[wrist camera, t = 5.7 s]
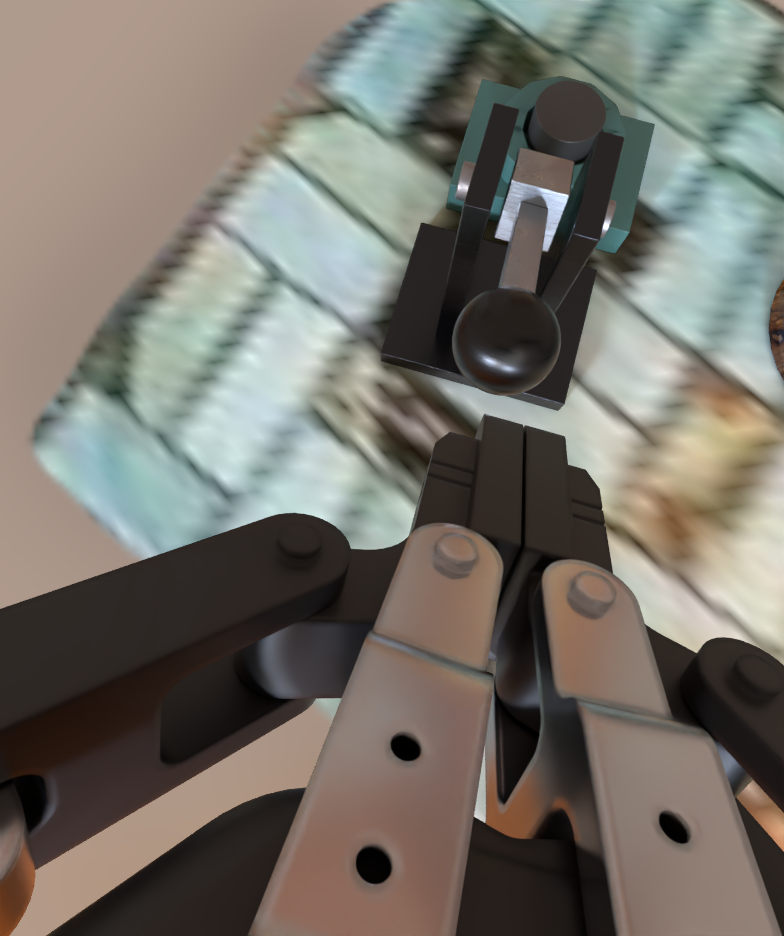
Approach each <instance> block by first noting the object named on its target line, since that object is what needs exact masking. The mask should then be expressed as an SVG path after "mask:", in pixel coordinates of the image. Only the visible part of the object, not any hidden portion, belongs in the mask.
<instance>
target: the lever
mask: <svg viewBox="0 0 784 936" xmlns="http://www.w3.org/2000/svg"><path fill="white" fill-rule="evenodd" d="M573 170H574V162H573V161H570V160H566V159H562V158H559V157H555V156H551V155H547V154H544V153H540V152H536V151H532V150H529V149H525V148H519V151H518V155H517V158H516V161H515V165H514V168H513V171H512V175H511V178H510V181H509V185H508V188H507V191H506V195H505V198H504V201H503V205H502V209H501V212H500V216H499V220H498V224H497V227H496V231H495V235H494V238H496V239H500V240H504V241H507V242H509V243H508V248H507V252H506V256H505V261H504V265H503V269H502V274H501V278H500V282H499V286H498V288H493V289H490V290H488V291H485V292H483V293H481V294H480V295H478V296H477V297H475V298H474V299H473V300H472V301H470V302H469V303H468V304H467V305H466V307H465V308H464V309H463V310H462V312H461V313H460V315H459V317H458V319H457V321H456V324H455V327H454V331H453V336H452V349H453V355H454V359H455V362H456V364H457V366H458V368H459V370H460V371H461V373H462V374H463V376H464V377H465V378H466V379H467V380H468V381H469V382H470V383H471V384H472V385H474V386H475V387H477V388H478V389H480V390H482V391H484V392H487V393H490V394H494V395H503V396H506V395H515V394H519V393H523V392H525V391H528V390H530V389H531V388H533V387H535V386H536V385H538V384H539V383H540V382H541V381H542V380H544V379H545V378H546V376H547V375H548V374H549V373H550V371H551V370H552V368H553V367H554V365H555V363H556V361H557V358H558V355H559V351H560V346H561V333H560V327H559V324H558V321H557V318H556V316H555V314H554V312H553V310H552V309H551V307H550V306H549V305H548V304H547V303H546V302H545V301H544V300H543V299H542V298H541V297H539V296H538V295H536V294H535V290H536V284H537V278H538V272H539V266H540V260H541V254H542V251H544V252H549V250H550V247H551V245H552V242H553V239H554V237H555V234H556V231H557V229H558V226H559V224H560V221H561V218H562V216H563V213H564V211H565V208H566V205H567V203H568V200H569V198H570V193H571V185H572V177H573Z"/></svg>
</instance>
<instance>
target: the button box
mask: <svg viewBox="0 0 784 936" xmlns="http://www.w3.org/2000/svg"><path fill="white" fill-rule="evenodd" d="M561 81H575V82H580V83H583V84H585V85H587V86H589V87H591V88H592V89H593V90H595V91H596V92H597V93H598V94H599V96H600V97H601V99H602V100H603V102H604V105H605V109H606V120H605V123H604V126H603V128H602V130H601V131H603V132H607V133H611V134H614V135H618V136H622V137H624V144H623V148H622V152H621V156H620V160H619V164H618V168H617V173H616V177H615V181H614V185H613V189H612V193H611V197H610V200H614V201H616V209H615V213H614V216H613V219H612V222H611V225H610V227H609V229H608V231H607V233H606V235H605V236H604V237H603V238H600V241H599V242H598V244H597V246H596V247H595V248H596V249H599V250H603V251H607V252H610V253H616V251H617V250H618V248H619V247H620V245H621V244H622V242H623V241H624V240H625V238H626V237H627V235H628V234H629V232H630V228H631V223H632V219H633V215H634V211H635V206H636V202H637V198H638V194H639V189H640V185H641V181H642V177H643V172H644V168H645V164H646V160H647V155H648V151H649V147H650V143H651V138H652V134H653V130H654V124H652V123H648V122H644V121H640V120H637V119H633V118H629V117H625V116H621V115H620V113H619V111H618V108H617V106H616V104H615V103H614V102H612V101H611V100H610V99H609V98H608V97H607V96H605V95H604V94H603V93H602V92H601V91H600V90H599V89H597V88H596V87H595V86H594V85H592V84H590V83H586V82H582V81H579V80H575V79H571V78H567V77H563V76H558V77H553V78H548V79H543V80H538V81H533V82H530V83H528V84H527V85H526V86H525V87H524V88H522V89H519V88H515V87H511V86H507V85H503V84H499V83H496V82H492V81H488V80H484V79H482V81H481V84H480V88H479V91H478V94H477V98H476V101H475V104H474V107H473V111H472V114H471V117H470V121H469V124H468V127H467V131H466V134H465V137H464V140H463V144H462V147H461V150H460V154H459V157H458V160H457V163H456V167H455V170H454V173H453V177H452V180H451V183H450V188H449V194H448V200H447V206H446V208H448V209H451V210H455V211H459V212H462V210H463V205H464V201H461V200H457V199H455V193H456V189H457V184H458V181H459V177H460V173H461V170H462V166H463V164H464V162H465V161H468V162H472V163H476V161H477V157H478V154H479V151H480V147H481V144H482V140H483V137H484V134H485V130H486V127H487V124H488V120H489V117H490V113H491V110H492V107H493V104H494V103H498V104H502V105H506V106H509V107H513V108H517V109H519V114H518V118H517V121H516V125H515V128H514V132H513V135H512V139H511V142H510V146H509V149H508V153H507V156H506V160H505V163H504V167H503V170H502V174H501V177H500V181H499V184H498V188H497V191H496V195H495V198H494V202H493V205H492V209H491V212H490V216H489V219H488V220H492V221H496V222H498V220H499V216H500V212H501V209H502V205H503V201H504V198H505V195H506V191H507V188H508V185H509V181H510V178H511V175H512V171H513V168H514V165H515V161H516V158H517V155H518V151H519V148H525V149H529V150H532V151H534V150H533V148H532V147H531V145H530V142H529V139H528V126H529V123H530V120H531V117H532V114H533V110H534V107H535V104H536V101H537V99H538V97H539V95H540V94H541V93H542V92H543V91H544V90H545V89H546V88H547V87H548V86H550V85H552V84H554V83H557V82H561ZM586 158H587V157H585V158H584V159H582V160H581V161H579V162H576V163H574V170H573V177H572V185H571V189H572V187H573V185H574V183H575V181H576V179H577V177H578V175H579V172H580V170H581V168H582V166H583V164H584V162H585V160H586Z"/></svg>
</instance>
